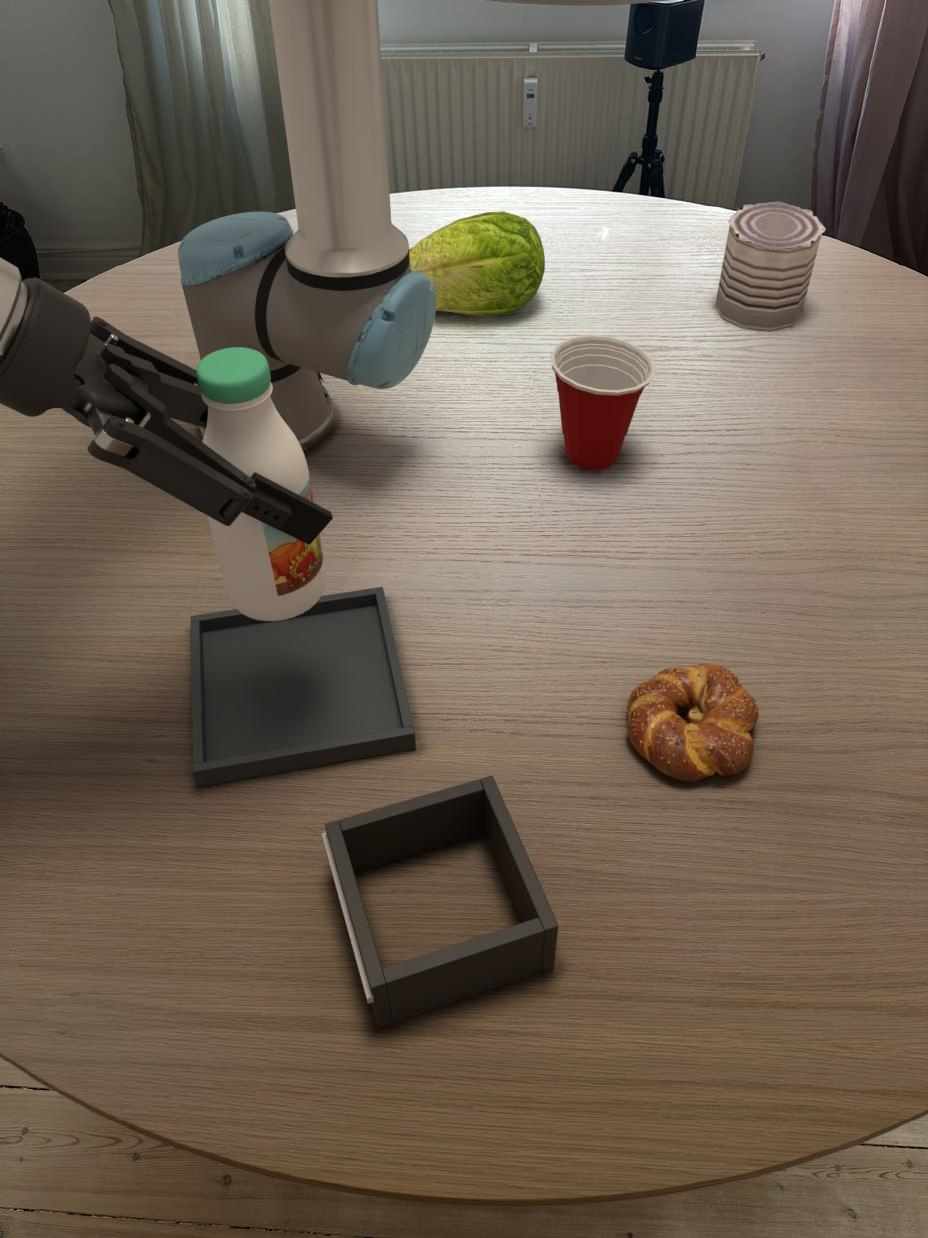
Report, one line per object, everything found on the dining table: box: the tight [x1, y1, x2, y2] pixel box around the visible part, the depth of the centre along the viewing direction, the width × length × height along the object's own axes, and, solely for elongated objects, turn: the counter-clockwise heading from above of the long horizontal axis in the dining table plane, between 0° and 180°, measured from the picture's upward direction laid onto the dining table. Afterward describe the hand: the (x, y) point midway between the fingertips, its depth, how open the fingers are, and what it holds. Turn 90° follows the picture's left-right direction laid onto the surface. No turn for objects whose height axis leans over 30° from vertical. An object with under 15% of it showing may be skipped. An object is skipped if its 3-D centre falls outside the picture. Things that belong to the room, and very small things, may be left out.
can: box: [714, 200, 827, 332], centre depth 127 cm, size 11×11×12 cm
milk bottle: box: [196, 347, 327, 621], centre depth 70 cm, size 8×8×20 cm
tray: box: [189, 586, 417, 787], centre depth 85 cm, size 18×18×2 cm
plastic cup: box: [550, 334, 657, 471], centre depth 104 cm, size 11×11×12 cm
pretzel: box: [626, 663, 760, 782], centre depth 80 cm, size 12×11×4 cm
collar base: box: [321, 775, 559, 1028], centre depth 68 cm, size 13×13×6 cm
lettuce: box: [409, 210, 546, 317], centre depth 129 cm, size 13×22×14 cm
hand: (307, 493), depth 72 cm, fingers closed on milk bottle, 8 cm apart
